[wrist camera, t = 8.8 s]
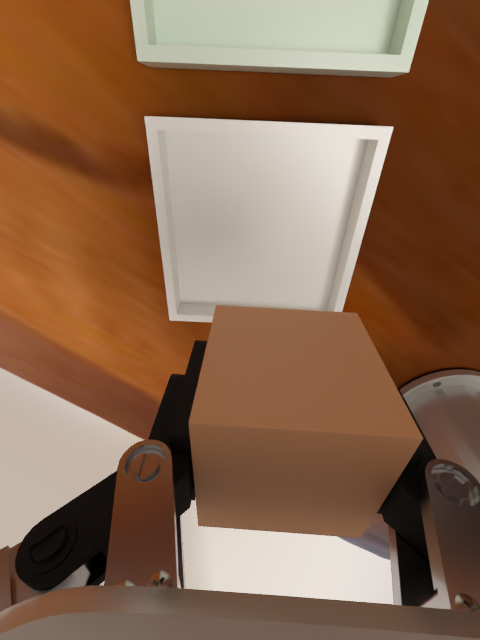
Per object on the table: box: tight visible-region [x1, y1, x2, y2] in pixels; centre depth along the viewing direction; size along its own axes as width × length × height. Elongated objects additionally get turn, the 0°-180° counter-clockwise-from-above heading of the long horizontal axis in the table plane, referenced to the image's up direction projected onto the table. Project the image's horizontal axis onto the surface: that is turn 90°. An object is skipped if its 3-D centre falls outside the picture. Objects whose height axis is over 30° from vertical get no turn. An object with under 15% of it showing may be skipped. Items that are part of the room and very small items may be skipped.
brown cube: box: [189, 305, 423, 538], centre depth 10 cm, size 5×5×5 cm
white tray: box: [144, 116, 393, 322], centre depth 23 cm, size 15×15×2 cm
